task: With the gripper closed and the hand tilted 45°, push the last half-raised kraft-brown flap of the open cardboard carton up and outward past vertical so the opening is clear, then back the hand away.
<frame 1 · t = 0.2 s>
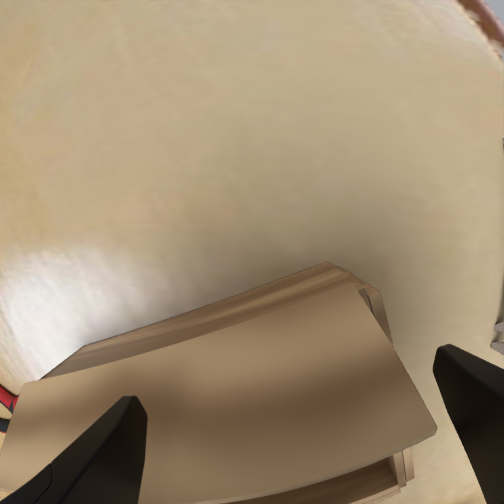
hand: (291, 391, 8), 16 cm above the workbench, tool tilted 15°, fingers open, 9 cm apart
carton: (229, 396, 25), on the workbench
far flap: (143, 422, 11), point 13 cm above the workbench, hinge at 65.0°
pliers: (22, 410, 27), on the workbench
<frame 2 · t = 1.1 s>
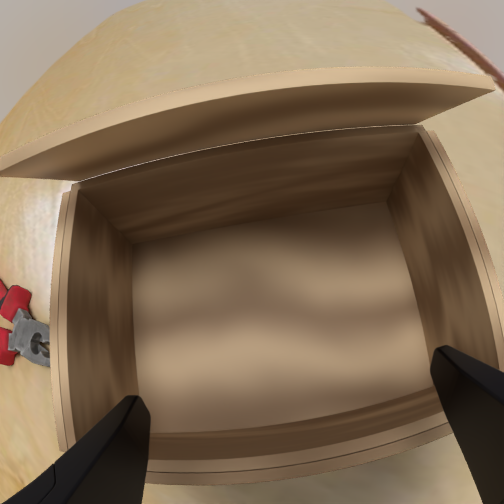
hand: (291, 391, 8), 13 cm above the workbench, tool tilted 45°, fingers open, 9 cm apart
carton: (274, 318, 22), on the workbench
far flap: (240, 118, 13), point 13 cm above the workbench, hinge at 58.8°
pliers: (9, 321, 25), on the workbench
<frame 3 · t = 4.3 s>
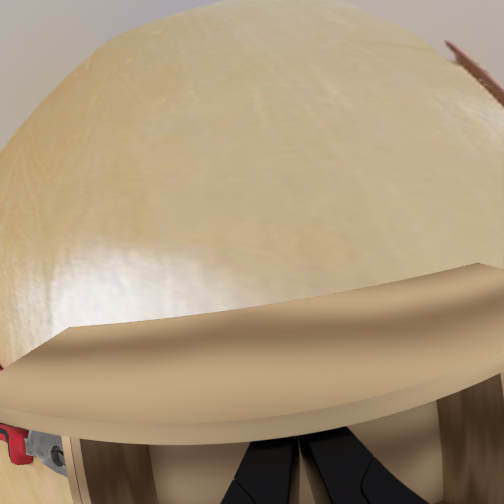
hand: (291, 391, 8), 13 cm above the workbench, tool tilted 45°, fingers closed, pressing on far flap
carton: (297, 451, 18), on the workbench
far flap: (284, 347, 10), point 13 cm above the workbench, hinge at 59.8°, touching gripper
pliers: (20, 417, 21), on the workbench
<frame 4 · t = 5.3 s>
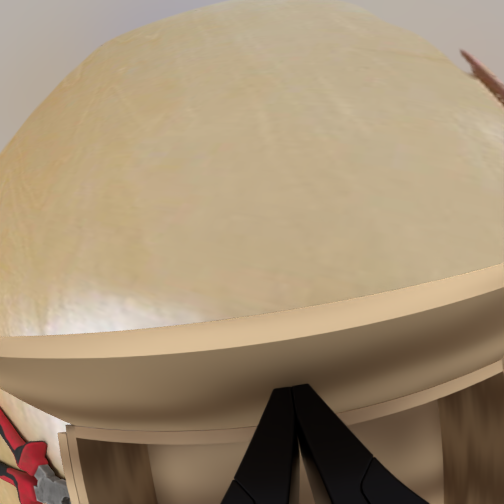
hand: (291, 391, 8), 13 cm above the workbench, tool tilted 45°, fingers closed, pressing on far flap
far flap: (290, 387, 9), point 13 cm above the workbench, hinge at 108.7°, touching gripper
pliers: (27, 460, 19), on the workbench
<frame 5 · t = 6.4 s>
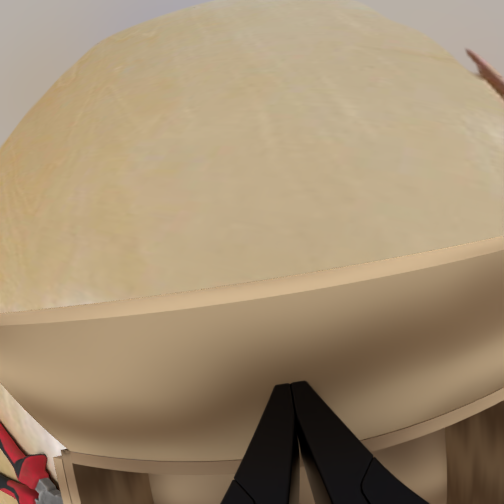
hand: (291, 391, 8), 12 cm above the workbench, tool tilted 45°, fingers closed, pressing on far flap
far flap: (291, 393, 9), point 12 cm above the workbench, hinge at 127.2°, touching gripper
pliers: (27, 473, 18), on the workbench
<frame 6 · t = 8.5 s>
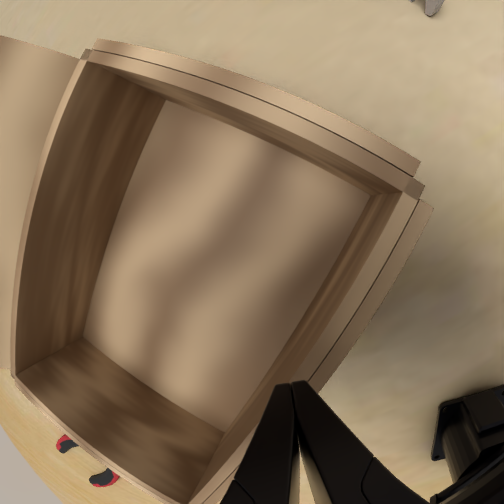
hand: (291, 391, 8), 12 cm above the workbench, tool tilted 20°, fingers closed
carton: (195, 281, 22), on the workbench
pliers: (111, 444, 29), on the workbench
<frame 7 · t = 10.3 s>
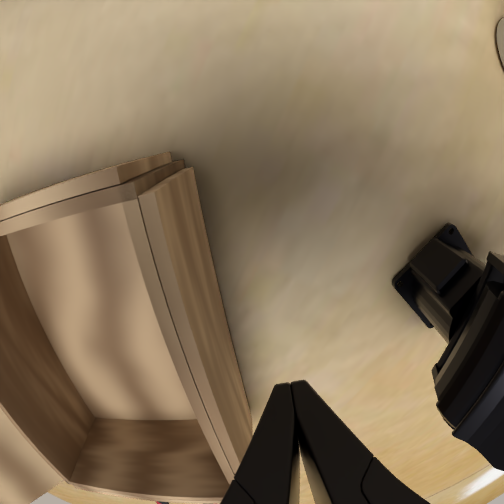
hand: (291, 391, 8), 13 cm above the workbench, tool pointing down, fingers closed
carton: (119, 327, 23), on the workbench
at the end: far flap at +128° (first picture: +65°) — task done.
